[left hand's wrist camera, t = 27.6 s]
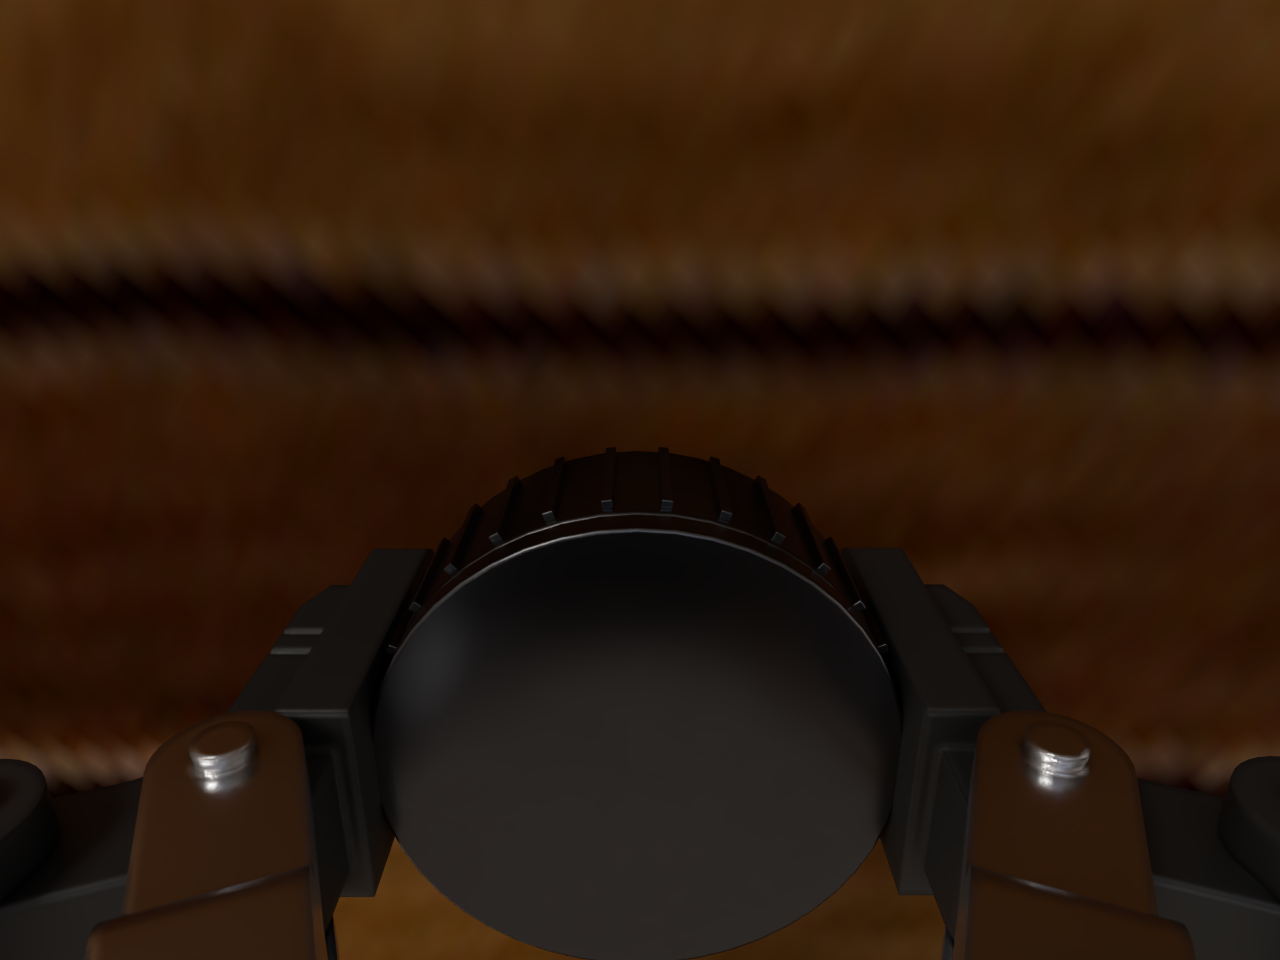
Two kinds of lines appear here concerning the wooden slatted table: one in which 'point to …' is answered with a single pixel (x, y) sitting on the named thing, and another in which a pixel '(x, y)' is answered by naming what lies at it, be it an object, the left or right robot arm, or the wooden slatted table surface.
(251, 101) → the wooden slatted table surface
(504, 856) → the lid
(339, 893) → the left robot arm
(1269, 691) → the wooden slatted table surface
